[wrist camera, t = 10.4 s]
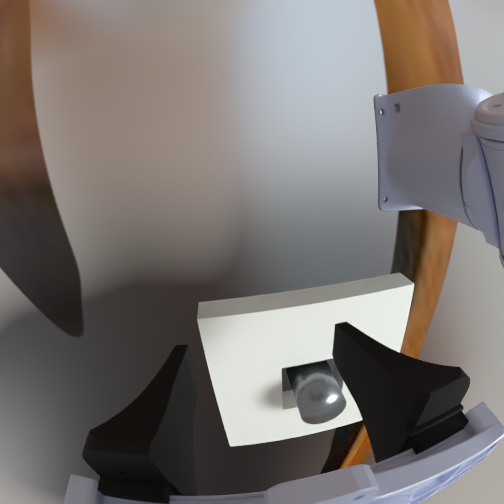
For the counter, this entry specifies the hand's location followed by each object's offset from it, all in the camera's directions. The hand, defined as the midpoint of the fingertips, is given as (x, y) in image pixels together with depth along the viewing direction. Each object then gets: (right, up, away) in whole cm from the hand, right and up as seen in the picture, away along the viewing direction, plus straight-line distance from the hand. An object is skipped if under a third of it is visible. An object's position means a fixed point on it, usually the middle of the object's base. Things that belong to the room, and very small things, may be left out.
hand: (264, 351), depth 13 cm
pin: (+5, -6, +13) cm, 15 cm away
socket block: (+5, -7, +13) cm, 15 cm away
